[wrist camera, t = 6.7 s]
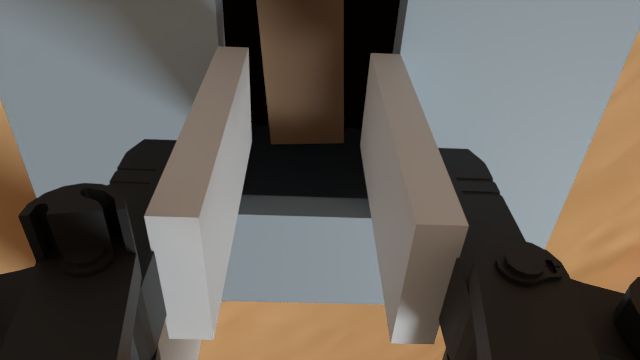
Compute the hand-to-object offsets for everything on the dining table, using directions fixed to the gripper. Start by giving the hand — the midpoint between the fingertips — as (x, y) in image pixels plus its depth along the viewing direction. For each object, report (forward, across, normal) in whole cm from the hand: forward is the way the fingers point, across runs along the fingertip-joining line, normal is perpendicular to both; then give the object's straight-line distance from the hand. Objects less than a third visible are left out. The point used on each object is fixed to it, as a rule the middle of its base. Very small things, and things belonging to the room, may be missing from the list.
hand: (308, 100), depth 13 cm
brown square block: (+9, 0, 0) cm, 9 cm away
